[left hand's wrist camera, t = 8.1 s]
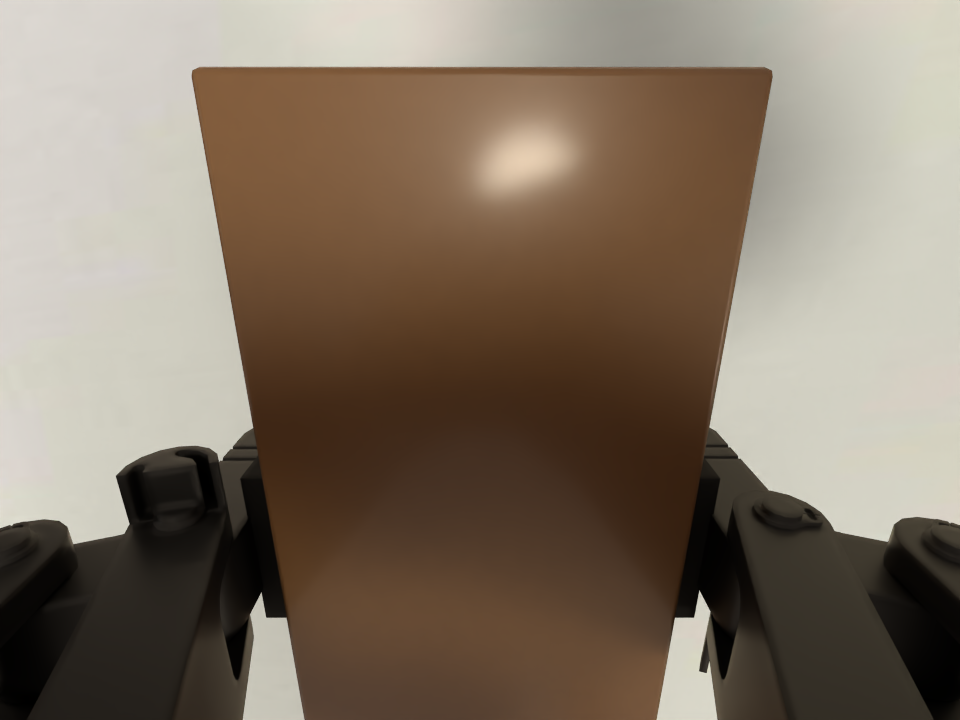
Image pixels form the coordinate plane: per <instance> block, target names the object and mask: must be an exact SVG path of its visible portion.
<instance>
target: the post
mask: <svg viewBox="0 0 960 720" xmlns="http://www.w3.org/2000/svg"><path fill="white" fill-rule="evenodd" d="M772 77H773V76H772V71H771V70H769V69H767V68H765V67H199V68H197V69H195V70H192V81H193V87H194V92H195V98H196V104H197V110H198V115H199V121H200V127H201V132H202V138H203V144H204V149H205V155H206V161H207V166H208V172H209V178H210V184H211V189H212V195H213V201H214V206H215V212H216V218H217V223H218V229H219V235H220V240H221V246H222V252H223V258H224V263H225V269H226V275H227V280H228V286H229V292H230V297H231V303H232V309H233V314H234V320H235V326H236V332H237V337H238V343H239V349H240V354H241V360H242V366H243V371H244V377H245V383H246V389H247V394H248V400H249V406H250V411H251V417H252V423H253V428H254V434H255V440H256V445H257V451H258V457H259V463H260V468H261V474H262V480H263V485H264V491H265V497H266V502H267V508H268V514H269V519H270V525H271V531H272V537H273V542H274V548H275V554H276V559H277V565H278V571H279V576H280V582H281V588H282V593H283V599H284V605H285V611H286V616H287V622H288V628H289V633H290V639H291V645H292V650H293V656H294V662H295V668H296V673H297V679H298V685H299V690H300V696H301V702H302V707H303V713H304V719H305V720H656V719H657V714H658V708H659V702H660V697H661V691H662V686H663V680H664V675H665V669H666V664H667V658H668V653H669V647H670V642H671V636H672V630H673V625H674V619H675V614H676V608H677V603H678V597H679V592H680V586H681V581H682V575H683V570H684V564H685V559H686V553H687V547H688V542H689V536H690V531H691V525H692V520H693V514H694V509H695V503H696V498H697V492H698V487H699V481H700V475H701V470H702V464H703V459H704V453H705V448H706V442H707V437H708V431H709V426H710V420H711V415H712V409H713V404H714V398H715V392H716V387H717V381H718V376H719V370H720V365H721V359H722V354H723V348H724V343H725V337H726V332H727V326H728V320H729V315H730V309H731V304H732V298H733V293H734V287H735V282H736V276H737V271H738V265H739V260H740V254H741V249H742V243H743V237H744V232H745V226H746V221H747V215H748V210H749V204H750V199H751V193H752V188H753V182H754V177H755V171H756V166H757V160H758V154H759V149H760V143H761V138H762V132H763V127H764V121H765V116H766V110H767V105H768V99H769V94H770V88H771V82H772Z"/></svg>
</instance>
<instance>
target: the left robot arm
mask: <svg viewBox="0 0 960 720" xmlns="http://www.w3.org/2000/svg"><path fill="white" fill-rule="evenodd" d="M116 478H117V482H118V485H119V489H120V492H121V496H122V499H123V503H124V506H125V510H126V513H127V516H128V520H129V523H130V525H129V526H128V528H127V530H126V532H125V534H122V535H118V536H114V537H108V538H103V539H98V540H93V541H88V542H83V543H78V544H73V542H72V539H71V536H70V533H69V530H68V528H67V526H65V525H64V524H63V523H61V522H60V521H54V520H45V519H44V520H36V521H29V522H20V523H16V524H13V525H12V526H11V525H9V526H6V527H3V528H0V720H243V713H244V705H245V698H246V690H247V683H248V676H249V668H250V661H251V653H252V646H253V639H254V635H253V628H252V622H251V617H250V613H251V611H252V609H253V607H254V605H255V603H256V601H257V599H258V598H259V596H260V594H261V592H262V597H263V602H264V607H265V613H266V618H287V616H286V611H285V605H284V599H283V593H282V588H281V582H280V576H279V571H278V565H277V559H276V554H275V548H274V542H273V537H272V531H271V525H270V519H269V514H268V508H267V502H266V497H265V491H264V485H263V480H262V474H261V468H260V463H259V457H258V451H257V445H256V440H255V434H254V428H253V429H251V430H249V431H248V432H246V433H245V434H244V435H243V436H242V437H241V438H240V439H239V440H238V442H237V443H236V444H235V445H234V446H233V449H230V451H229V452H228V453H227V454H226V455H225V456H224V457H223V461H220V462H219V460H218V455H217V453H215V452H214V451H212V450H211V449H210V448H205V447H199V446H183V447H175V448H170V449H165V450H160V451H158V452H155V453H152V454H149V455H147V456H144V457H141V458H139V459H138V460H136V461H134V462H132V463H131V464H129V465H127V466H126V467H125V468H124V469H123V470H122V471H120V472H119V473H118V474H117V475H116ZM699 590H700V592H701V594H702V596H703V598H704V600H705V602H706V604H707V605H708V607H709V609H710V611H711V612H710V617H709V622H708V627H707V632H706V637H705V642H704V647H703V651H702V656H701V662H700V669H699V671H700V672H704V673H707V669H708V664H709V661H710V667H711V674H712V682H713V689H714V697H715V704H716V711H717V719H718V720H960V525H957V524H954V523H951V524H950V523H949V522H947V521H943V520H938V519H928V518H921V517H914V518H904V519H901V520H900V521H898V522H897V523H896V524H894V526H893V529H892V532H891V535H890V538H889V541H888V542H885V541H880V540H874V539H869V538H864V537H859V536H854V535H849V534H844V533H840V532H836V531H834V529H833V527H832V526H831V524H830V522H829V521H828V520H827V519H826V518H825V516H824V515H823V514H822V513H821V512H820V511H818V510H817V509H815V508H814V507H812V506H811V505H809V504H808V503H806V502H804V501H801V500H799V499H797V498H794V497H792V496H790V495H786V494H782V493H778V492H774V491H769V490H768V489H767V488H766V487H765V486H764V485H763V483H762V482H761V481H760V480H759V479H758V478H757V477H756V476H755V475H754V473H753V472H752V471H751V470H750V469H749V468H748V467H747V466H746V464H745V463H744V462H743V461H742V460H741V459H738V455H737V454H736V453H735V452H734V451H733V450H732V449H731V448H730V447H728V444H727V443H726V442H725V441H724V440H723V439H722V438H721V436H720V435H719V434H718V433H717V432H716V431H714V430H713V429H711V428H709V431H708V437H707V442H706V448H705V453H704V459H703V464H702V470H701V475H700V481H699V487H698V492H697V498H696V503H695V509H694V514H693V520H692V525H691V531H690V536H689V542H688V547H687V553H686V559H685V564H684V570H683V575H682V581H681V586H680V592H679V597H678V603H677V608H676V614H675V618H694V615H695V610H696V605H697V599H698V594H699Z"/></svg>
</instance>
